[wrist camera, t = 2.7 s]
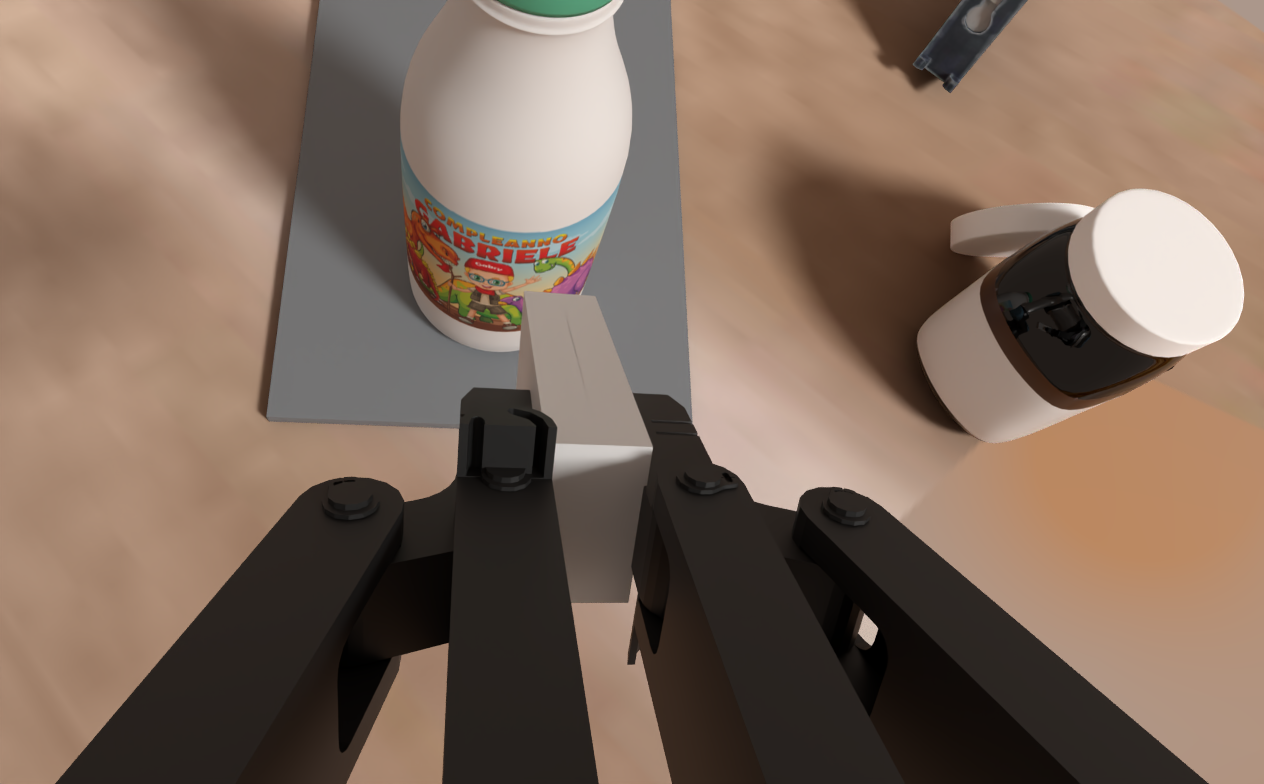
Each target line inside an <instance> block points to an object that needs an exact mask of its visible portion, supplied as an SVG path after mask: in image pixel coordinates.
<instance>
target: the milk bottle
mask: <svg viewBox="0 0 1264 784" xmlns="http://www.w3.org/2000/svg"><path fill="white" fill-rule="evenodd" d="M623 1H624V0H447V2H446V4H445V5H444V6H443V8H442V9H441V10H440V12H439V13H438V15H437V16H436V17H435V18H434V20H433V21H432V22H431V24H430V25H429V27H428V28H427V30H426V31H425V33H424V34H423V36H422V38H421V40H420V41H419V44H418V46H417V48H416V50H415V52H414V54H413V57H412V59H411V62H410V65H409V69H408V72H407V75H406V79H405V82H404V89H403V95H402V102H401V113H400V152H401V170H402V188H403V204H404V218H405V232H406V245H407V258H408V270H409V277H410V283H411V288H412V291H413V295H414V297H415V299H416V302H417V304H418V306H419V307H420V309H421V311H422V312H423V314H424V315H425V316H426V318H427V319H428V320H429V321H430V322H431V323H432V324H433V325H434V326H435V327H436V328H437V329H438V330H439V331H441V332H442V333H443V334H444V335H446V336H448V337H449V338H451V339H452V340H454V341H456V342H458V343H460V344H463V345H465V346H468V347H471V348H474V349H478V350H483V351H491V352H510V351H517V350H519V347H520V335H521V322H522V310H523V297H524V291H533V292H546V293H560V294H574V295H581V293H582V291H583V288H584V285H585V283H586V280H587V277H588V275H589V272H590V269H591V266H592V263H593V261H594V258H595V255H596V252H597V250H598V247H599V244H600V241H601V239H602V236H603V233H604V230H605V227H606V224H607V221H608V218H609V215H610V213H611V210H612V207H613V204H614V201H615V198H616V195H617V192H618V189H619V185H620V182H621V178H622V175H623V171H624V168H625V164H626V161H627V157H628V152H629V146H630V139H631V132H632V100H631V93H630V86H629V80H628V76H627V73H626V69H625V65H624V62H623V59H622V56H621V53H620V50H619V47H618V44H617V40H616V36H615V29H614V20H613V15H614V14H615V12H616V11H617V10H618V9H619V7H620V6H621V4H622V3H623Z"/></svg>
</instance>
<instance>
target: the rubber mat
mask: <svg viewBox="0 0 1264 784" xmlns="http://www.w3.org/2000/svg"><path fill="white" fill-rule="evenodd" d="M446 2H447V0H320V2H319V10H318V18H317V25H316V33H315V41H314V49H313V57H312V64H311V72H310V80H309V88H308V96H307V103H306V111H305V119H304V127H303V135H302V142H301V150H300V158H299V166H298V174H297V181H296V189H295V197H294V205H293V213H292V220H291V228H290V236H289V244H288V252H287V259H286V267H285V275H284V283H283V291H282V298H281V306H280V314H279V322H278V330H277V337H276V345H275V353H274V361H273V369H272V376H271V384H270V392H269V400H268V408H267V416H266V417H267V419H268V420H269V421H276V422H302V423H328V424H355V425H381V426H407V427H434V428H459V424H460V407H461V399H462V398H463V397H464V396H465V395H466V394H467V393H468V392H469V391H470V390H471V389H472V388H473V387H478V388H499V389H516V385H517V373H518V360H519V350H517V351H510V352H491V351H483V350H478V349H474V348H471V347H468V346H465V345H463V344H460V343H458V342H456V341H454V340H452V339H451V338H449V337H448V336H446V335H444V334H443V333H442V332H441V331H439V330H438V329H437V328H436V327H435V326H434V325H433V324H432V323H431V322H430V321H429V320H428V319H427V318H426V316H425V315H424V314H423V312H422V311H421V309H420V307H419V306H418V304H417V302H416V299H415V297H414V295H413V291H412V288H411V283H410V277H409V270H408V258H407V245H406V232H405V218H404V204H403V188H402V170H401V152H400V113H401V102H402V95H403V89H404V82H405V79H406V75H407V72H408V69H409V65H410V62H411V59H412V57H413V54H414V52H415V50H416V48H417V46H418V44H419V41H420V40H421V38H422V36H423V34H424V33H425V31H426V30H427V28H428V27H429V25H430V24H431V22H432V21H433V20H434V18H435V17H436V16H437V15H438V13H439V12H440V10H441V9H442V8H443V6H444V5H445V4H446ZM613 20H614V29H615V36H616V40H617V44H618V47H619V50H620V53H621V56H622V59H623V62H624V65H625V69H626V73H627V76H628V80H629V86H630V93H631V100H632V132H631V139H630V146H629V152H628V157H627V161H626V164H625V168H624V171H623V175H622V178H621V182H620V185H619V189H618V192H617V195H616V198H615V201H614V204H613V207H612V210H611V213H610V215H609V218H608V221H607V224H606V227H605V230H604V233H603V236H602V239H601V241H600V244H599V247H598V250H597V252H596V255H595V258H594V261H593V263H592V266H591V269H590V272H589V275H588V277H587V280H586V283H585V285H584V288H583V291H582V293H581V295H587V296H595V297H596V299H597V302H598V305H599V307H600V310H601V312H602V315H603V318H604V320H605V323H606V325H607V328H608V331H609V333H610V336H611V339H612V341H613V344H614V346H615V349H616V352H617V354H618V357H619V359H620V362H621V365H622V367H623V370H624V373H625V375H626V378H627V380H628V383H629V386H630V388H631V391H632V393H643V394H664V395H669V396H670V397H671V398H673V399H674V400H675V401H677V402H678V403H679V404H681V405H682V406H683V407H685V409H686V411H687V413H688V415H689V417H690V419H691V421H692V406H691V386H690V367H689V348H688V329H687V309H686V290H685V271H684V251H683V232H682V213H681V193H680V174H679V155H678V135H677V116H676V97H675V77H674V58H673V39H672V19H671V0H624V1H623V3H622V4H621V6H620V7H619V9H618V10H617V11H616V12H615V14H614V15H613Z"/></svg>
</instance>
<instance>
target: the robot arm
mask: <svg viewBox="0 0 1264 784" xmlns="http://www.w3.org/2000/svg"><path fill="white" fill-rule="evenodd" d="M632 576H634V580H635V583H636V587H637V591H638V596H637V602H636V608H635V614H634V620H633V626H632V633H631V639H630V645H629V651H628V663H627V665H632V664H635V660H636V654H637V652H638V651H639V650H640V651H641V656H642V660H643V664H644V668H645V672H646V676H647V681H648V685H649V689H650V693H651V697H652V701H653V706H654V710H655V714H656V718H657V722H658V727H659V731H660V735H661V739H662V743H663V747H664V752H665V756H666V760H667V764H668V768H669V772H670V777H671V781H672V784H1208V783H1207V782H1206V781H1205V780H1204V779H1203V778H1201V777H1200V776H1199V775H1198V774H1197V773H1195V772H1194V771H1193V770H1192V769H1190V767H1188V766H1187V765H1186V764H1185V763H1184V762H1182V761H1181V760H1180V759H1179V758H1178V757H1177V756H1175V755H1174V754H1173V753H1172V752H1171V751H1169V750H1168V749H1167V748H1166V747H1165V746H1164V745H1162V744H1161V743H1160V742H1159V741H1158V740H1156V739H1155V738H1154V737H1153V736H1152V735H1151V734H1149V733H1148V732H1147V731H1146V730H1145V729H1143V728H1142V727H1141V726H1140V725H1139V724H1138V723H1136V722H1135V721H1134V720H1133V719H1132V718H1131V717H1129V716H1128V715H1127V714H1126V713H1125V712H1123V711H1122V710H1121V709H1120V708H1119V707H1118V706H1116V705H1115V704H1114V703H1113V702H1112V701H1111V700H1109V699H1108V698H1107V697H1106V696H1105V695H1103V694H1102V693H1101V692H1100V691H1099V690H1098V689H1096V688H1095V687H1094V686H1093V685H1092V684H1090V683H1089V682H1088V681H1087V680H1086V679H1085V678H1083V677H1082V676H1081V675H1080V674H1078V673H1077V672H1076V671H1075V670H1074V669H1073V668H1072V667H1070V666H1069V665H1068V664H1067V663H1065V662H1064V661H1063V660H1062V659H1061V658H1060V657H1059V656H1057V655H1056V654H1055V653H1054V652H1053V651H1051V650H1050V649H1049V648H1048V647H1047V646H1046V645H1044V644H1043V643H1042V642H1041V641H1040V640H1039V639H1037V638H1036V637H1035V636H1034V635H1033V634H1031V633H1030V632H1029V631H1028V630H1027V629H1026V628H1024V627H1023V626H1022V625H1021V624H1020V623H1018V622H1017V621H1016V620H1015V619H1014V618H1013V617H1011V616H1010V615H1009V614H1008V613H1006V612H1005V611H1004V610H1003V609H1002V608H1001V607H999V606H998V605H997V604H996V603H995V602H993V600H991V599H990V598H989V597H988V596H987V595H985V594H984V593H983V592H982V591H981V590H980V589H978V588H977V587H976V586H975V585H974V584H972V583H971V582H970V581H969V580H968V579H967V578H965V577H964V576H963V575H962V574H961V573H959V572H958V571H957V570H956V569H955V568H954V567H952V566H951V565H950V564H949V563H948V562H946V561H945V560H944V559H943V558H942V557H941V556H939V555H938V554H937V553H936V552H935V551H934V550H932V549H931V548H930V547H929V546H928V545H926V544H925V543H924V542H923V541H922V540H921V539H919V538H918V537H917V536H916V535H915V534H913V533H912V532H911V531H910V530H909V529H907V528H906V527H905V526H904V525H903V524H902V523H900V522H899V521H898V520H897V519H896V518H895V517H893V516H892V515H891V514H890V513H889V512H888V511H886V510H885V509H884V508H883V507H882V506H880V505H879V504H877V503H876V502H874V501H873V500H871V499H869V498H868V497H865V496H863V495H860V494H858V493H856V492H855V491H853V490H849V489H845V488H844V489H842V488H839V487H818V488H815V489H811V490H808V491H806V492H805V493H804V494H803V495H802V496H801V497H800V500H799V504H798V508H797V511H792V510H787V509H782V508H778V507H773V506H768V505H764V504H761V503H757V502H754V501H753V499H752V497H751V496H750V494H749V492H748V490H747V488H746V486H745V484H744V483H743V482H742V481H741V480H740V478H739V477H738V476H737V475H736V474H734V473H732V472H731V471H729V470H727V469H725V468H724V467H721V466H718V465H715V464H713V463H712V461H711V459H710V457H709V455H708V453H707V451H706V449H705V447H704V445H703V443H702V441H701V439H700V437H699V436H697V431H696V429H695V427H694V425H693V424H692V421H691V419H690V417H689V415H688V413H687V411H686V409H685V407H683V406H682V405H681V404H679V403H678V402H677V401H675V400H674V399H673V398H671V397H670V396H669V395H664V394H643V393H632V391H631V388H630V386H629V383H628V380H627V378H626V375H625V373H624V370H623V367H622V365H621V362H620V359H619V357H618V354H617V352H616V349H615V346H614V344H613V341H612V339H611V336H610V333H609V331H608V328H607V325H606V323H605V320H604V318H603V315H602V312H601V310H600V307H599V305H598V302H597V299H596V297H595V296H587V295H574V294H560V293H546V292H533V291H524V297H523V310H522V322H521V335H520V347H519V360H518V373H517V385H516V389H499V388H478V387H473V388H472V389H471V390H470V391H469V392H468V393H467V394H466V395H465V396H464V397H463V398H462V399H461V407H460V424H459V444H458V464H457V474H456V478H455V480H454V481H453V482H452V483H451V485H450V486H449V487H447V488H446V489H444V490H443V491H441V492H440V493H437V494H435V495H432V496H430V497H427V498H423V499H419V500H414V501H408V502H404V500H403V498H402V496H401V494H400V492H399V491H398V490H397V489H395V488H394V487H392V486H391V485H389V484H388V483H385V482H382V481H378V480H374V479H371V478H357V477H344V478H337V479H332V480H328V481H326V482H323V483H320V484H318V485H315V486H312V487H311V488H309V489H308V490H307V491H306V492H304V493H303V494H302V495H300V496H299V497H298V498H297V500H296V501H295V502H294V503H293V504H292V506H291V507H290V508H289V509H288V510H287V511H286V513H285V514H284V515H283V516H282V517H281V518H280V520H279V521H278V522H277V523H276V524H275V526H274V527H273V528H272V529H271V530H270V531H269V533H268V534H267V535H266V536H265V537H264V538H263V540H262V541H261V542H260V543H259V544H258V546H257V547H256V548H255V549H254V550H253V551H252V553H251V554H250V555H249V556H248V557H247V559H246V560H245V561H244V562H243V563H242V564H241V566H240V567H239V568H238V569H237V570H236V571H235V573H234V574H233V575H232V576H231V577H230V579H229V580H228V581H227V582H226V583H225V584H224V586H223V587H222V588H221V589H220V590H219V591H218V593H217V594H216V595H215V596H214V597H213V599H212V600H211V601H210V602H209V603H208V604H207V606H206V607H205V608H204V609H203V610H202V611H201V613H200V614H199V615H198V616H197V617H196V619H195V620H194V621H193V622H192V623H191V624H190V626H189V627H188V628H187V629H186V630H185V631H184V633H183V634H182V635H181V636H180V637H179V639H178V640H177V641H176V642H175V643H174V644H173V646H172V647H171V648H170V649H169V650H168V652H167V653H166V654H165V655H164V656H163V657H162V659H161V660H160V661H159V662H158V663H157V664H156V666H155V667H154V668H153V669H152V670H151V672H150V673H149V674H148V675H147V676H146V677H145V679H144V680H143V681H142V682H141V683H140V684H139V686H138V687H137V688H136V689H135V690H134V692H133V693H132V694H131V695H130V696H129V697H128V699H127V700H126V701H125V702H124V703H123V704H122V706H121V707H120V708H119V709H118V710H117V712H116V713H115V714H114V715H113V716H112V717H111V719H110V720H109V721H108V722H107V723H106V724H105V726H104V727H103V728H102V729H101V730H100V732H99V733H98V734H97V735H96V736H95V737H94V739H93V740H92V741H91V742H90V743H89V745H88V746H87V747H86V748H85V749H84V750H83V752H82V753H81V754H80V755H79V756H78V757H77V759H76V760H75V761H74V762H73V763H72V765H71V766H70V767H69V768H68V769H67V770H66V772H65V773H64V774H63V775H62V776H61V777H60V779H59V780H58V781H57V782H56V783H55V784H346V783H347V781H348V778H349V776H350V774H351V772H352V770H353V768H354V766H355V763H356V761H357V759H358V757H359V755H360V753H361V750H362V748H363V746H364V744H365V742H366V740H367V738H368V735H369V733H370V731H371V729H372V727H373V725H374V722H375V720H376V718H377V716H378V714H379V712H380V710H381V707H382V705H383V703H384V701H385V699H386V697H387V694H388V692H389V690H390V688H391V686H392V684H393V682H394V679H395V677H396V675H397V673H398V671H399V666H400V660H401V655H403V654H407V653H411V652H415V651H418V650H422V649H426V648H430V647H434V646H438V645H442V644H446V643H449V649H448V670H447V692H446V713H445V735H444V757H443V778H442V784H599V783H598V776H597V770H596V763H595V757H594V750H593V743H592V737H591V730H590V724H589V717H588V711H587V704H586V698H585V691H584V684H583V678H582V671H581V665H580V658H579V652H578V645H577V639H576V632H575V625H574V619H573V612H572V606H571V603H628V601H629V594H630V588H631V582H632ZM864 613H865V614H866V615H867V616H868V617H869V618H870V619H871V620H872V621H873V623H874V624H875V625H876V626H877V627H878V632H877V635H876V638H875V641H874V643H873V645H872V646H871V645H869V644H868V643H867V642H865V641H864V639H863V638H862V637H861V636H860V635H859V634H858V632H859V629H860V625H861V622H862V619H863V616H864Z"/></svg>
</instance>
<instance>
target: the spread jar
mask: <svg viewBox="0 0 1264 784" xmlns="http://www.w3.org/2000/svg"><path fill="white" fill-rule="evenodd" d="M950 249H951V250H952V251H953V252H956V253H959V254H963V255H970V256H981V257H1008V258H1006V259H1005V260H1004V261H1002V262H1001V263H999V264H998V265H997V266H995V267H994V268H992V269H991V270H990V271H988V272H987V273H986V274H984V275H983V276H982V277H980V278H979V279H978V280H976V281H975V282H974V283H973V284H971V285H970V286H969V287H967V288H966V289H965V290H963V291H962V292H961V293H959V294H958V295H957V296H955V297H954V298H953V299H951V300H950V301H949V302H947V303H946V304H945V305H943V306H942V307H941V308H940V309H939V310H937V311H936V312H935V313H934V314H933V315H931V316H930V317H929V318H928V319H927V320H926V322H925V323H924V324H923V325H922V327H921V328H920V330H919V332H918V335H917V353H918V357H919V361H920V364H921V367H922V369H923V372H924V375H925V377H926V380H927V382H928V384H929V386H930V388H931V390H932V391H933V393H934V395H935V397H936V398H937V400H938V401H939V403H940V404H941V405H942V407H943V408H944V409H945V410H946V412H947V413H948V414H949V415H950V416H951V417H952V418H953V419H954V420H955V421H956V422H957V423H958V424H959V425H960V426H961V427H962V428H963V429H964V430H965V431H966V432H967V433H969V434H970V435H972V436H973V437H975V438H977V439H979V440H981V441H984V442H989V443H1001V442H1007V441H1011V440H1014V439H1017V438H1020V437H1023V436H1026V435H1029V434H1032V433H1034V432H1037V431H1039V430H1041V429H1044V428H1046V427H1049V426H1051V425H1053V424H1056V423H1058V422H1060V421H1062V420H1065V419H1067V418H1069V417H1071V416H1074V415H1076V414H1078V413H1080V412H1083V411H1085V410H1088V409H1090V408H1093V407H1095V406H1097V405H1100V404H1102V403H1104V402H1107V401H1109V400H1112V399H1114V398H1117V397H1120V396H1122V395H1124V394H1126V393H1128V392H1130V391H1132V390H1134V389H1136V388H1137V387H1139V386H1141V385H1143V384H1145V383H1147V382H1149V381H1151V380H1153V379H1155V378H1156V377H1158V376H1160V375H1161V374H1163V373H1164V372H1166V371H1168V370H1170V369H1172V368H1173V367H1174V366H1175V365H1176V364H1177V363H1178V362H1179V361H1181V360H1182V359H1183V358H1184V357H1185V356H1186V355H1187V354H1188V353H1190V352H1193V351H1195V350H1197V349H1199V348H1202V347H1204V346H1206V345H1208V344H1211V343H1213V342H1215V341H1217V340H1220V339H1222V338H1223V337H1224V336H1225V335H1227V334H1228V333H1229V332H1230V331H1231V330H1232V329H1233V328H1234V326H1235V325H1236V323H1237V322H1238V320H1239V317H1240V314H1241V312H1242V309H1243V300H1244V288H1243V279H1242V276H1241V272H1240V268H1239V265H1238V263H1237V261H1236V258H1235V256H1234V254H1233V252H1232V250H1231V248H1230V247H1229V245H1228V243H1227V242H1226V240H1225V239H1224V237H1223V236H1222V235H1221V233H1220V232H1219V231H1218V230H1217V229H1216V227H1215V226H1214V225H1213V224H1212V223H1211V222H1210V221H1209V220H1208V219H1207V218H1206V217H1205V216H1204V215H1202V214H1201V213H1200V212H1199V211H1198V210H1196V209H1195V208H1193V207H1192V206H1190V205H1189V204H1188V203H1186V202H1184V201H1182V200H1180V199H1178V198H1176V197H1174V196H1172V195H1170V194H1167V193H1164V192H1160V191H1157V190H1150V189H1143V188H1141V189H1129V190H1125V191H1122V192H1119V193H1117V194H1115V195H1113V196H1112V197H1110V198H1109V199H1107V200H1106V201H1104V202H1103V203H1102V204H1100V205H1099V206H1098V207H1096V208H1092V207H1089V206H1085V205H1079V204H1068V203H1031V204H1017V205H1008V206H1000V207H993V208H988V209H982V210H978V211H974V212H970V213H967V214H964V215H961V216H959V217H957V218H955V219H953V220H952V221H951V242H950Z"/></svg>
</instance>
